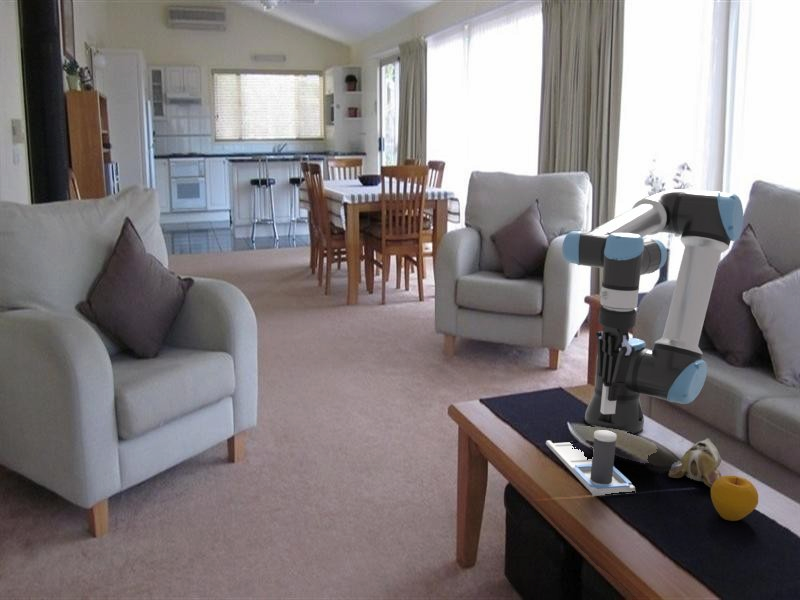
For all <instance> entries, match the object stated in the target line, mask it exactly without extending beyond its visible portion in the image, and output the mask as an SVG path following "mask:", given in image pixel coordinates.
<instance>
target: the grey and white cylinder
mask: <svg viewBox="0 0 800 600" xmlns="http://www.w3.org/2000/svg"><path fill="white" fill-rule="evenodd" d="M617 438H618V433H614V432H612V431H609V430H600V429H597V430H595V431H594V432H593V446H592V448H593V457H592V467H591V480H592V481H593V482H595V483H599V484H609V483H611V482H612V475H613V466H615V465H614V463H615V455H616V453H615V452H616V442H617Z"/></svg>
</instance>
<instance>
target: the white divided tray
mask: <svg viewBox="0 0 800 600" xmlns="http://www.w3.org/2000/svg"><path fill="white" fill-rule="evenodd" d="M570 442H571V441H570ZM570 442H554V443H553V442H552V440H546V441H545V445H546V447H548V448H549V449H550V451H551V452H552V453H553V454H554V455H555V456H556V457H557V458H558V460H560V461H561V462H562V463H563V464H564V466H566V468H567V469H568V470H569V471H570V472H571V473H572V474H573V475H574V476H575V477H576V478H577V480H579V482H580V483H581V484H582V485H583V486H584V487H585V488H586V489H587V490H588V491H589V492H590V493H591V494H590V496H591V497H597V496H606V495H605V494H611V493H619V492H632V491H635V492H636V487H635V485H633V484H632V482H631V481H630V480H629V478H628V477H626V476H625V475H624V474H623V473H622V472H621V471H620V470H618V468H616V467H615V465H613V475H612V482H611V483H609V484H599V483H595V482H593V481H592V480H591V467H592V459H588V460H587V457H585V456H584V452H583V451H582V452H581V450H580V449H579V450H578V449H574V447H573V446H572V445H573V444H571V443H570ZM572 448H573V449H572ZM575 448H576V447H575Z"/></svg>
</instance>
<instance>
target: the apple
mask: <svg viewBox="0 0 800 600" xmlns="http://www.w3.org/2000/svg"><path fill="white" fill-rule="evenodd" d="M710 498H711V502H712V504H713V507H714V509H715V510H716V512H717V513H718V514H719V516H720V517H721V518H722V519H724V520H726V521H730V522H735V521H740V520H743V519H744V518H745V517H747V516H748V515H749V514H751V513H753V512H754V510H755V509H756V508H757V506H758V504H759V493H758V490H757V488H756V487H755V485H754V484H753V483H752V482H751V481H749V480H748V479H747V478H744V477H742V476H737V475H724V476H720V478H718V479H717V480H716V481H715V482H714V483H713V486H712V488H710Z"/></svg>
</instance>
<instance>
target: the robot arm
mask: <svg viewBox="0 0 800 600" xmlns="http://www.w3.org/2000/svg"><path fill="white" fill-rule="evenodd" d="M743 228H744V208H743V203H742V201H741V198H740V196H738V195H737V194H735V193H732V192H730V193H729V192H723V191H721V190H719V191H715V190H714V191H712V190H696V189H695V190H694V189H685V188H676V189H675V188H674V189H668V190H663V191H660V192H657V193H654V194H650V195H649V196H646V197H643V198H642V199H639V200H638V201H637V202H635V203H634V205H633V206H632V208H630V209H629V210H628V211H626V212H624V213H621V214H619V215H618V216H616V217H614V218H612V219H611V220H608V221H606V222H604V223H602V224H601V225H599V226H597V227H595V228H593V229H591V230H589V231H585V232H584V231H582V230H581V231H580V230H578V231H577V230H576V231H575V230H574V231H573V230H572V231H569V232H568V233H567V234H566V235H565V237H564V239H563V242H562V249H561V250H562V257H563V259H564V260H565V261H566V262H567V263H569V264H573V265H577V266H584V267H585V266H586V267H593V268H599V269H602V281H601V290H600V292H599V296H600V301H599V302H600V305H601V306H600V307H599V310H598V317H597V318H598V320H597V321H598V324H599V325H600V326H602V329H601V331H596V332H595V337H596V342H597V348H596V349H597V356H596V365H595V367H596V368H595V377H594V389H593V390H594V391H593V394H592V397H591V399H590V401H589V403H588V405H587V408H586V410H585V414H584V415H585V416H584V420H585V423H586V424H588V425H589V424H591V425H596V426H601V427H606V428H613V429H619V430H625V431H629V432H633V434H637V433H639V432H641V431H642V430H644V426H645V425H644V423H645V417H644V414H643V410H642V405H641V404H642V403H641V399H640V396H641V395H645V396H649V397H653V398H656V399H661V400H664V401H667V402H670V403H678V404H682V405H686V404H690V403H692V402H693V401H695V399H696V398H697V397H698V396H699V395H700V393H701V390H702V389H703V387H704V384H705V381H706V380H707V379H706V378H707V374H708V373H707V371H708V365H707V362H706V361H704V360H703V358H702V357H703V351H702V350H701V348H700V347H699V343H700V339H701V335H702V331H703V326H704V323H705V322H704V321H705V319H706V314H707V310H708V306H709V302H710V299H711V294H712V290H713V286H714V283H715V282H714V281H715V279H716V278H715V277H716V275H717V270H718V267H719V262H720V258H721V254H722V253H724V252H726V251H728V250H729V247H730V244H731V242H735V241H739V239H740V237H741V235H742V232H743ZM658 233H665V234H666V233H667V234H673V235H680V241H681V243H682V244H683V247H684V250H683V254H682V258H681V262H680V266H679V269H678V273H677V279H676V281H675V286H674V289H673V293H672V297H671V302H670V305H669V311H668V314H667V317H666V322H665V325H664V331H663V334H662V337H661V338H659V339H657V340H656V341H655V342H654V343H653V348H652V349H650V348H647V347H646V346H647V345H646V341H644V340H642V339H640V338H636V337H635V338H634V337H630V336H629V335H630V333H629V331H630V330H631V329H632V328H634V327H635V326H636V321H637V320H636V319H637V311H636V308H637V307H638V302H639V290H640V282H641V281H640V279H641V276H643V275H647V274H648V275H649V274H653V273H655V272H657V271H659V270H660V269H662V268H663V267H664V265H665V264H666V261H667V258H668V250H667V248H666V246H665V244H664V243H663V242H662V241H660V240H659V239H657V238H653V237H651V238H649V237H646V236H653V235H656V234H658ZM643 237H644V238H643ZM591 425H590V426H591Z"/></svg>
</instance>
